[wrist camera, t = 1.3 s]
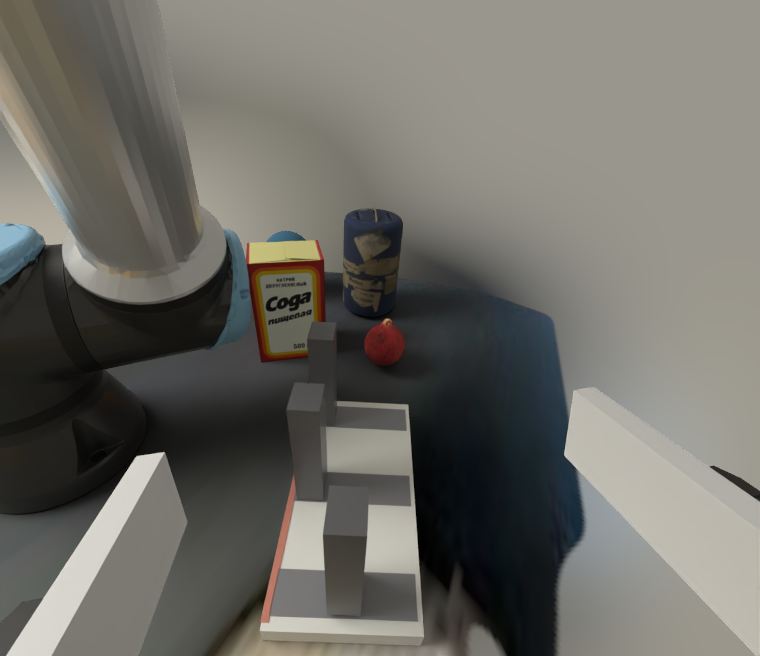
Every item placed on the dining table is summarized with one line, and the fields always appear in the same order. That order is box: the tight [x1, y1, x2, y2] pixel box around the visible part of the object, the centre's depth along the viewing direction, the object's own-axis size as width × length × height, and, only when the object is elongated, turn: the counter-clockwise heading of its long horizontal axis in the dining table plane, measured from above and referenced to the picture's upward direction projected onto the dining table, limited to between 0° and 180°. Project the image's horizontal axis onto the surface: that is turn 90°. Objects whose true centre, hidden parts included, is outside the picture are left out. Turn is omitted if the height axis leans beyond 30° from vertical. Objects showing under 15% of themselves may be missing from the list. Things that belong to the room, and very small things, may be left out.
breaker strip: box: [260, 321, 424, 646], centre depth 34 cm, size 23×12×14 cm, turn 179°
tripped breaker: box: [323, 485, 369, 616], centre depth 25 cm, size 3×2×12 cm
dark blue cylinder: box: [343, 208, 403, 317], centre depth 63 cm, size 10×10×18 cm
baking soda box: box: [246, 240, 326, 362], centre depth 53 cm, size 10×6×16 cm
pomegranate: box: [364, 318, 405, 366], centre depth 53 cm, size 6×6×8 cm
